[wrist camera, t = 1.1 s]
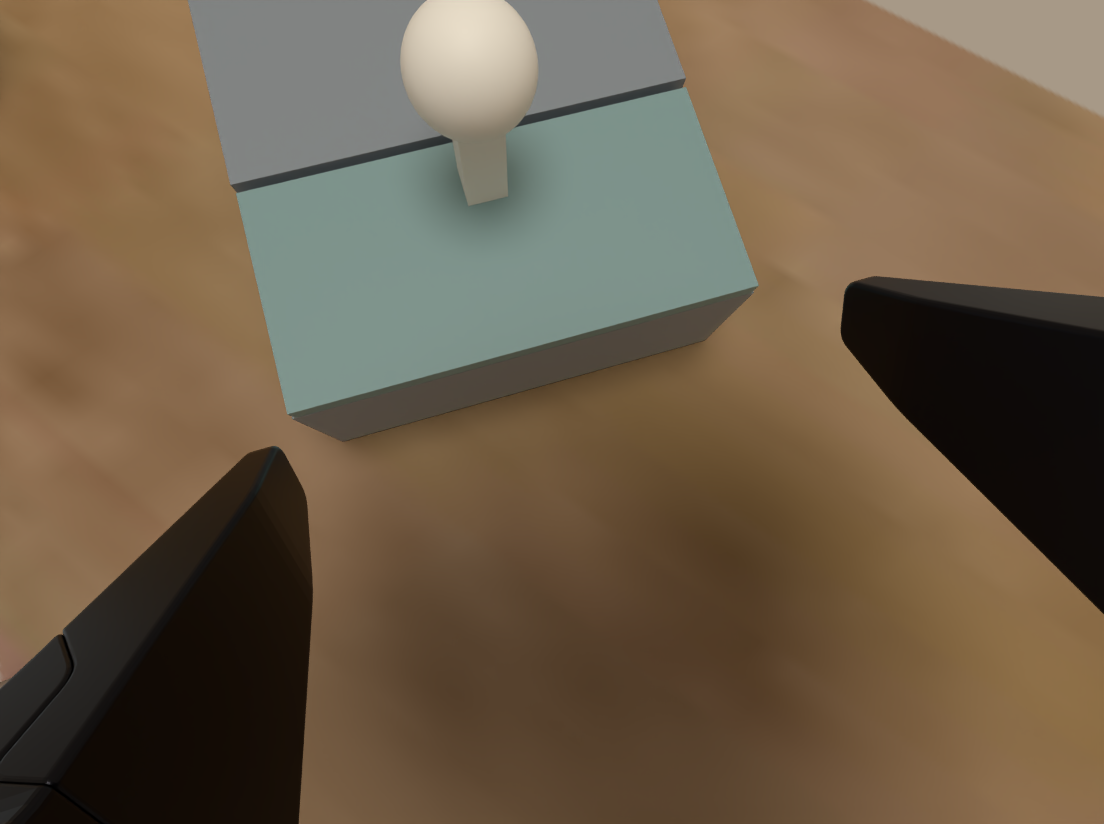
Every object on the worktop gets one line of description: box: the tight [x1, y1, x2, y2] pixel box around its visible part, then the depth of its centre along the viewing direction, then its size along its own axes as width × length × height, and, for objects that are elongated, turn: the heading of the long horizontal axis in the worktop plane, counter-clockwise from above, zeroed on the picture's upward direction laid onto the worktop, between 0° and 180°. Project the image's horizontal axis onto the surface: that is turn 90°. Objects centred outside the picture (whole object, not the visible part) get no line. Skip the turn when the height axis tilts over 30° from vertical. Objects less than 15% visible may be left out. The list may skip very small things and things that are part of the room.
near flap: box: [236, 0, 759, 418], centre depth 15 cm, size 7×14×7 cm, turn 106°
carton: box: [188, 0, 754, 441], centre depth 21 cm, size 14×14×6 cm
